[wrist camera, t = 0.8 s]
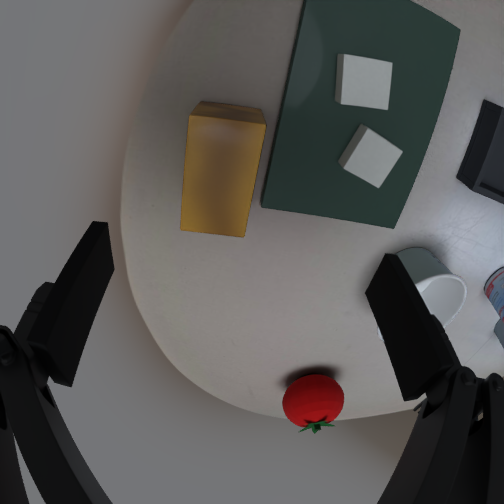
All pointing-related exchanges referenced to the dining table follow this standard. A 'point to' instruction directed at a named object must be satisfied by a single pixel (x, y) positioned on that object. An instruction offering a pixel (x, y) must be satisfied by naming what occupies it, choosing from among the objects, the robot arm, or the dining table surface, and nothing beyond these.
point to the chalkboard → (357, 107)
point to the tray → (486, 154)
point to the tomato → (313, 401)
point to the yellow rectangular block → (221, 168)
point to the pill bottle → (496, 292)
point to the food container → (434, 284)
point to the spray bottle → (500, 331)
